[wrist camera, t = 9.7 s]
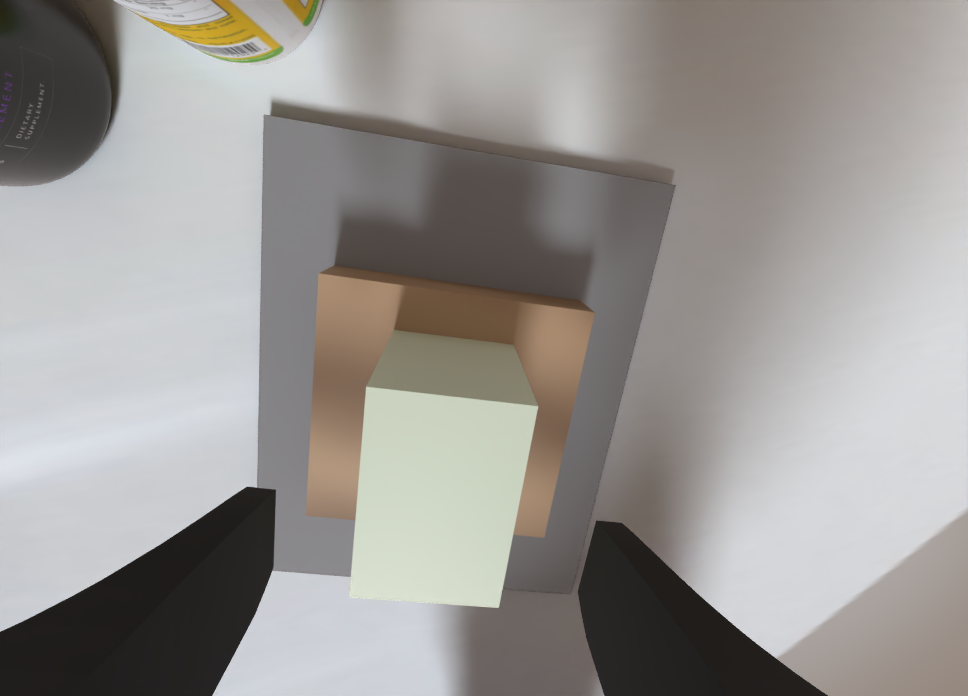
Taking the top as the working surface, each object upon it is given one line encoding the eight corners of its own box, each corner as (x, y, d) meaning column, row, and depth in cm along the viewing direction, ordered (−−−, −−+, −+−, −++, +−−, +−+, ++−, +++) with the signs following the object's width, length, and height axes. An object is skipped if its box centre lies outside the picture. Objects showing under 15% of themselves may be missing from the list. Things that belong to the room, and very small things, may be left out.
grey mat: (568, 585, 22) (571, 594, 22) (260, 560, 21) (255, 569, 20) (669, 185, 17) (675, 185, 17) (269, 117, 16) (263, 114, 15)
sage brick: (487, 497, 18) (498, 608, 13) (378, 487, 17) (349, 597, 12) (513, 344, 16) (538, 406, 11) (394, 329, 15) (366, 386, 11)
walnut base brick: (535, 506, 20) (544, 537, 18) (321, 484, 19) (305, 515, 17) (579, 300, 18) (594, 312, 16) (334, 264, 17) (318, 273, 15)
